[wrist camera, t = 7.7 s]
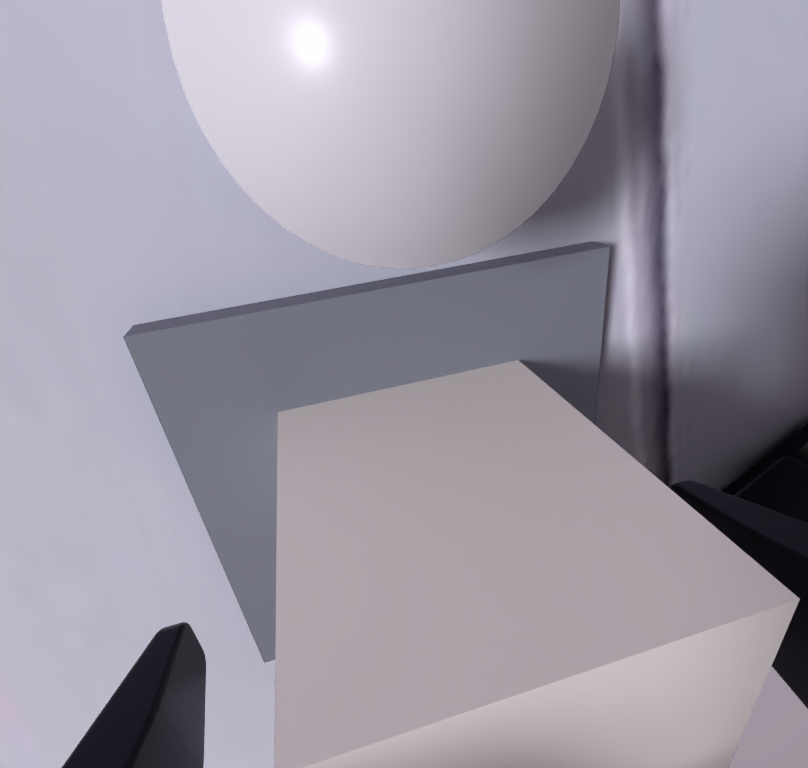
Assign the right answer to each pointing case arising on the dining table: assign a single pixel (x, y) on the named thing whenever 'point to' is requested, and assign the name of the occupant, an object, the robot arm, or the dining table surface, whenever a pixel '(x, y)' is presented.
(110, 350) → the dining table surface
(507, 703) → the cream block
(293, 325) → the slate mat
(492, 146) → the white ball
